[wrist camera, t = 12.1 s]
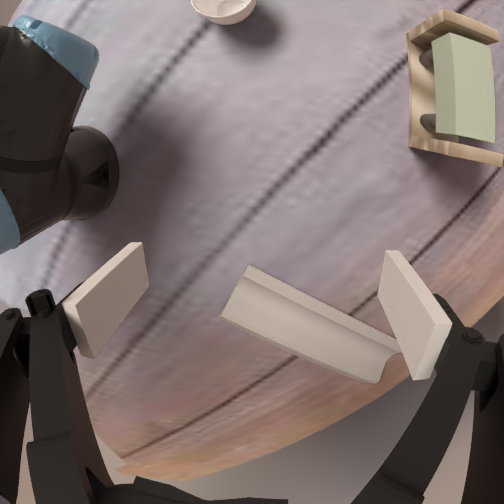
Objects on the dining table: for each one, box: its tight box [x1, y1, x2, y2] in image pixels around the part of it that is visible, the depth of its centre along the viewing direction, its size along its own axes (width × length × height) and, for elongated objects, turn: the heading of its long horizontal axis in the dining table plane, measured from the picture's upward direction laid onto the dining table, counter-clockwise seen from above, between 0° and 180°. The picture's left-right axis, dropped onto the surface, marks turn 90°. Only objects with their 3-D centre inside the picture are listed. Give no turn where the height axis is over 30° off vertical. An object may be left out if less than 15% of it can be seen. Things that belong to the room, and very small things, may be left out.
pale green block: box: [431, 32, 495, 143], centre depth 24 cm, size 12×6×5 cm, turn 2°
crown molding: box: [217, 265, 402, 384], centre depth 48 cm, size 31×12×4 cm, turn 63°
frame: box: [407, 8, 503, 167], centre depth 27 cm, size 17×8×12 cm, turn 0°
